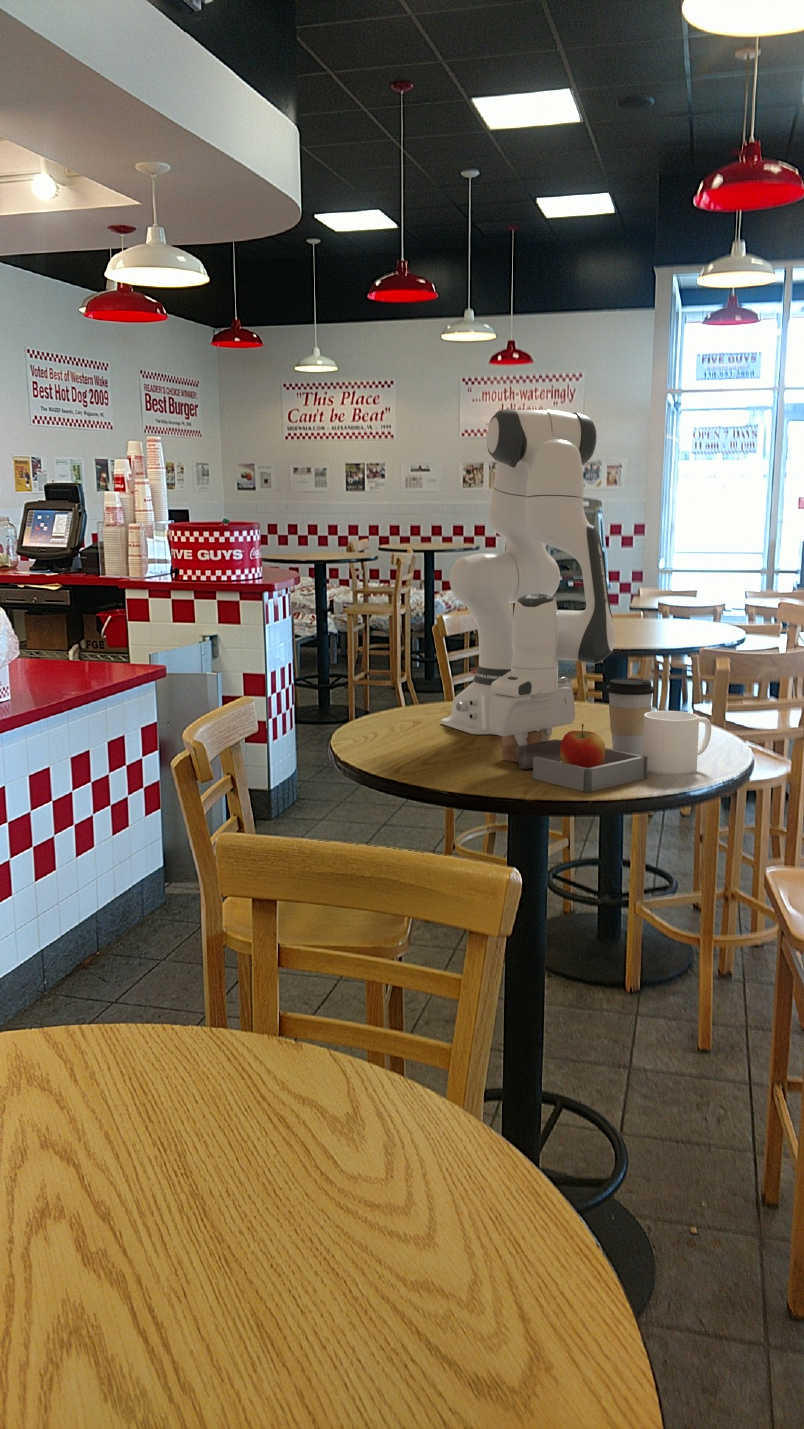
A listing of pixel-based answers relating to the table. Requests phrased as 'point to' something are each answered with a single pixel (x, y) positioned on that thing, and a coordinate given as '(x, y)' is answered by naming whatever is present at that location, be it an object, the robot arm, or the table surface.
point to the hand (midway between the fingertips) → (533, 752)
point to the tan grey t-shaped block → (530, 749)
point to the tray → (592, 771)
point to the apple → (582, 749)
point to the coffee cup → (628, 712)
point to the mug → (673, 741)
